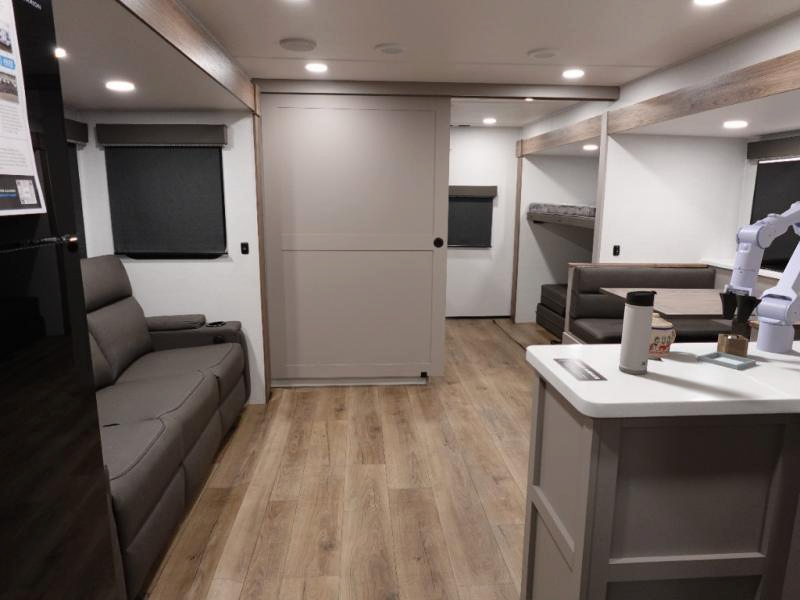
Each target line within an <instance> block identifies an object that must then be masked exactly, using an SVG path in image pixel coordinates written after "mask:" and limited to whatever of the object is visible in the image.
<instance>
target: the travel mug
mask: <svg viewBox="0 0 800 600" xmlns="http://www.w3.org/2000/svg"><path fill="white" fill-rule="evenodd" d="M656 295H658V293H657V291H656V290H650V291H649V290H637V291H636V290H634V291H628V292H627V293H626V296H625V297H626V298H625V303H624V304H625V306H624V313H623V322H622V323H623V324H622V333H621V335H622V336H621V341H620V342H621V343H620V353H619V365H618V370H619V371H620V372H622V373H625V374H627V375H634V376H642V375H645V374H647V371H648V363H649V359H648V355H649V346H650V337H651V328H652V318H653V313H654V306H655V297H656Z"/></svg>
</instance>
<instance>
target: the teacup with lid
mask: <svg viewBox="0 0 800 600" xmlns="http://www.w3.org/2000/svg"><path fill="white" fill-rule="evenodd" d="M673 325H674V324H673V323H671V322H669V321H667V320H666V319H664V318H663V317H660V313H657V312H653V318H652V328H651V337H650V346H649V355H648V360H657V361H658V360H659V361H660V360H662V358H661V357H667V356H669V355H670V349H671V345H672V344H673V343H674V342H675V339H676V336H677V335H676V331H675V329H674V326H673Z"/></svg>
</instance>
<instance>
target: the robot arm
mask: <svg viewBox="0 0 800 600" xmlns="http://www.w3.org/2000/svg"><path fill="white" fill-rule="evenodd" d="M790 226H792V227H793V228H792V229H793V230H794V233H795V234H796V235H798V236H799V237H800V200H798V201H796V202H795V203H792V204H791V205H790V208H789V209H787V210H786V211H784V212H782V213H781V214H778V213H768V214H767V217H765V218H763V219H761V220H757V221H756V222H755V223H753V224H745V225H743V226H741V227H740V228H739V229H738V230H737V232H736V233H735V242H736V244H735V245H736V246H735V252H736V256H735V257H736V258H735V260H734V261H735V262H734V266H733V270H732V274H731V278H730V282H729V284H724V288H723V289H724V290H723V292H719V293H718V294H719V297H720V301H721V305H722V306H721V307H722V309H721V310H722V312H721V313H722V319H723V320H727V321H728V320H729V321H732V320H733V318H734V316H735V314H736V316H735V317H736V321H735V322H736V323H738V324H744V325H746V324H747V323H748V321H749V319H750V317H751V315H752V313H753V312H754V315H755V316H756V317H757V320H758V321H759V324H758V325H759V327H758V333H757V340H756V346H755V347H756V348H755V349H757V350H759V351H761V352H764V353H765V352H766V353H770V354H771V353H773V354H787V353H788V352H790V351H792V350H793V345H794V344H793V343H794V338H795V328H794V326H793V325H795V323H797V322H798V321H799V320H800V294H799V291H800V241H798V244H797V246H796V248H795V250H794V251H793V253H792V254H791V256H790V259H789V261H788V263H787V265H786V266H785V269H784V271H783V273H782V274H781V277H780V279H779V280H778V282H777V283H776V285H775V286H773V287H770V288H768V289H766V290H764V291H763V293H762V294H761V295H760V293H761V289H758V288H756V285H757V281H758V278H759V275H760V269H761V264H762V260H763V257H764V253H765V252H764V251H765V249H766V248H769V247H770V246H771V245H772V242H773V241H774V240H775V238H778V237H779V236H781V235H783V234H785V233H786V232H787V231H788V229H789V227H790Z"/></svg>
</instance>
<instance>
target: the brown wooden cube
mask: <svg viewBox="0 0 800 600" xmlns="http://www.w3.org/2000/svg"><path fill="white" fill-rule="evenodd" d="M728 335H732V336H736V337H737V338H728ZM717 338H718V339H717V345H716V352H717V351H718V352H722V353H726V354H731V355H735V356H739V357H744V358H748V350H749V343H750V342H749V341H750V340H749V339H748V338H746V337H745V336H743V335H740V334H730V333H729V334H726V333H719V334H718V337H717Z"/></svg>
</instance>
